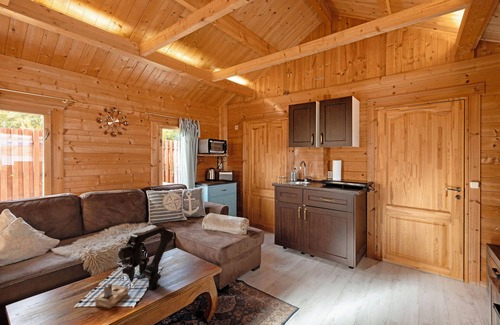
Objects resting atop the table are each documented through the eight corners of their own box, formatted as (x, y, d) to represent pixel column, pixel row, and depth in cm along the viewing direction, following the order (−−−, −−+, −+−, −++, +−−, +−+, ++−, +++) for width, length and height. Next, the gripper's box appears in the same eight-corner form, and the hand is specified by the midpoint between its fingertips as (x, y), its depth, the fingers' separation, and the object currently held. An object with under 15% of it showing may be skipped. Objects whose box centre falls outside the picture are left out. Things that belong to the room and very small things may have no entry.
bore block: (114, 292, 159) (114, 285, 159) (127, 294, 157) (127, 287, 157) (95, 306, 144) (95, 299, 144) (109, 308, 142) (109, 301, 142)
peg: (107, 299, 150) (107, 283, 149) (113, 300, 149) (113, 284, 149) (102, 303, 146) (102, 286, 146) (108, 304, 145) (108, 287, 145)
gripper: (135, 247, 165) (135, 269, 165) (114, 258, 146) (114, 284, 147) (149, 248, 162) (149, 271, 163) (130, 260, 144) (130, 286, 145)
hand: (136, 277), depth 155 cm, fingers open, 9 cm apart
